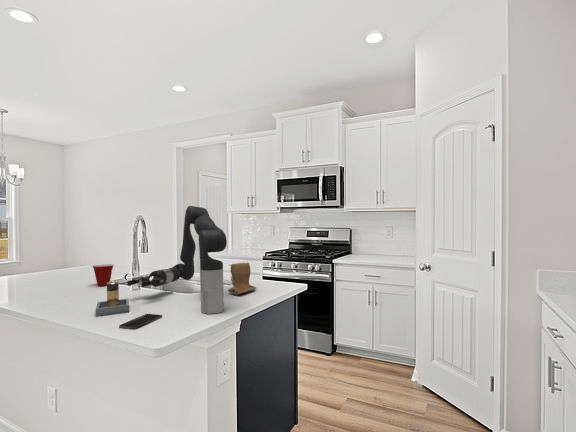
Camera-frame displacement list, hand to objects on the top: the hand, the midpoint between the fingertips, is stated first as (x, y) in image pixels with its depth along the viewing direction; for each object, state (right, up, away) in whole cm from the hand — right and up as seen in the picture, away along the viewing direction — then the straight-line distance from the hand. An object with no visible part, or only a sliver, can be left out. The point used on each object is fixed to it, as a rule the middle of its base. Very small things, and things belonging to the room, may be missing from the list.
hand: (134, 284), depth 155 cm
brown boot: (+45, -8, +19) cm, 49 cm away
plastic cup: (-35, -9, +40) cm, 54 cm away
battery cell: (-5, -8, -10) cm, 14 cm away
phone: (+14, -10, -26) cm, 31 cm away
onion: (+41, -8, +39) cm, 57 cm away
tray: (-5, -9, -10) cm, 14 cm away
